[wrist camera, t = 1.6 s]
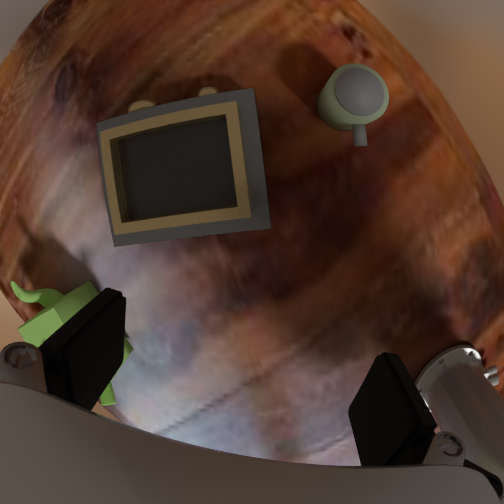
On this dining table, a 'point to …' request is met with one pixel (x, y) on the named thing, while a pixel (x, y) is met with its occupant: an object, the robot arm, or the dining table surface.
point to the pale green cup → (353, 100)
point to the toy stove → (184, 168)
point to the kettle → (60, 318)
